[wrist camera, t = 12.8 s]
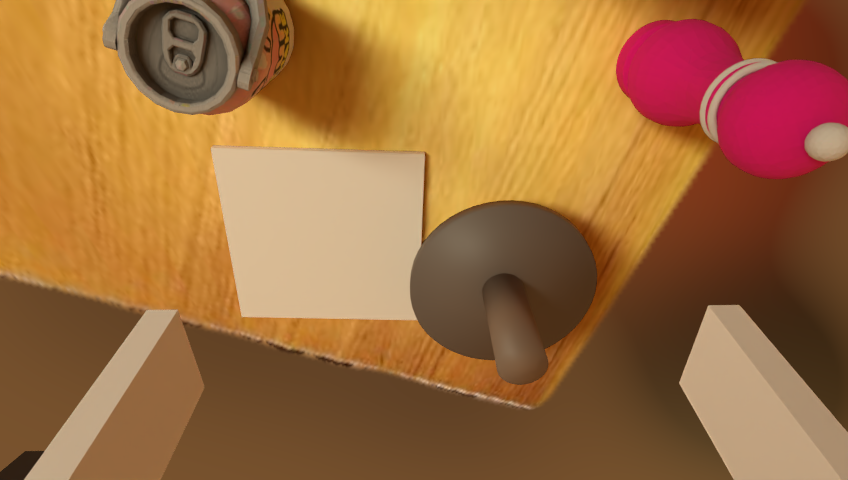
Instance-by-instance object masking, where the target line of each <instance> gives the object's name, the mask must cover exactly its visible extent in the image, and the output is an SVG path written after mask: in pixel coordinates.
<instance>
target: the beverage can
mask: <svg viewBox="0 0 848 480" xmlns="http://www.w3.org/2000/svg"><path fill="white" fill-rule="evenodd" d="M103 43H104V46H105V47H107V48H110V49H114V50H117V51H118V56H119V58H120V60H121V63H122V65H123V67H124V70H125V72H126V74H127V76H128V77H129V78H130V79H131V81H132V82H133V83H134V84H135V86H136V87H137V88H138V89H139V91H140V92H141V93H143V94H144V95H145V96H147V97H148V98H149V99H150V100H152V101H153V102H154V103H156V104H157V105H160V106H162V107H164V108H166V109H169V110H171V111H173V112H177V113H184V114H191V115H194V114H206V115H214V114H220V113H226V112H231V111H233V110H234V109H236V108H238V107H240V106H242V105H243V104H245V103H247V102H248V101H249V100H250V99H251V98H252V97H253V96H255V95H256V94H257V93H258V92H259V91H260V90H261V89H262V88H264V87H265V86H266V85H267V84H268V83H269V82H270V81H271V80H272V79H274V78H275V77H276V76H277V75H278V74H279V73H280V71H281V70H282V69H283V68H284V67H285V65H286V64H287V63H288V61H289V58H290V56H291V53H292V50H293V47H294V26H293V22H292V19H291V15H290V11H289V9H288V7H287V6H286V4H285V2H284V0H116V2H115V5H114V8H113V12H112V13H111V15H110V16H109V18H108V20H107V21H106V23H105V24H104V26H103Z"/></svg>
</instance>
